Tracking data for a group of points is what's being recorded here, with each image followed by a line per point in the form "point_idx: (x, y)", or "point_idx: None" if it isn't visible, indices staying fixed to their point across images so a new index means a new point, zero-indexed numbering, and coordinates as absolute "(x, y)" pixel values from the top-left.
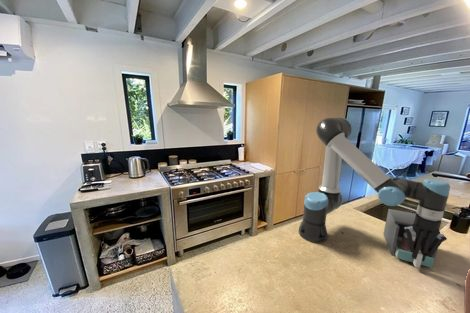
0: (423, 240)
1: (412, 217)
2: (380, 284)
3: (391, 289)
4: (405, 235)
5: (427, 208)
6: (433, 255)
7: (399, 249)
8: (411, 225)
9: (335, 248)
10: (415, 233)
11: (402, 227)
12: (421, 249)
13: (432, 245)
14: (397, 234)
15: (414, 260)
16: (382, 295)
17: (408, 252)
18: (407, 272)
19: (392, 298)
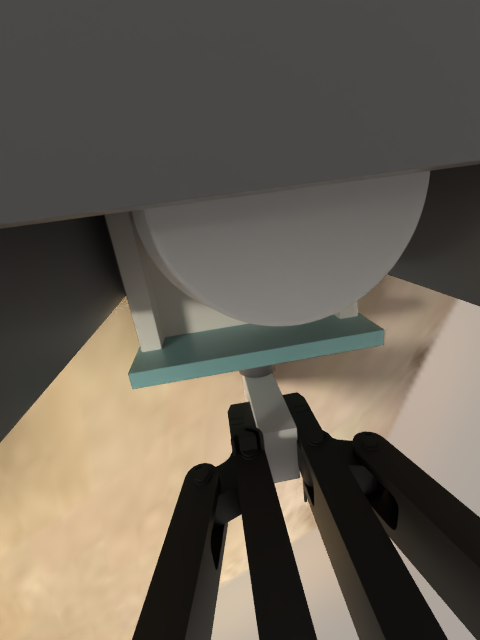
0: (365, 594)
1: None
2: (96, 570)
3: (138, 567)
4: (156, 260)
5: None
6: (400, 275)
7: (137, 378)
8: (251, 186)
9: None
10: (311, 316)
11: None
12: (305, 461)
13: (441, 565)
14: (18, 414)
15: (245, 386)
16: (111, 609)
17: (207, 374)
18: (205, 420)
19: (144, 600)
